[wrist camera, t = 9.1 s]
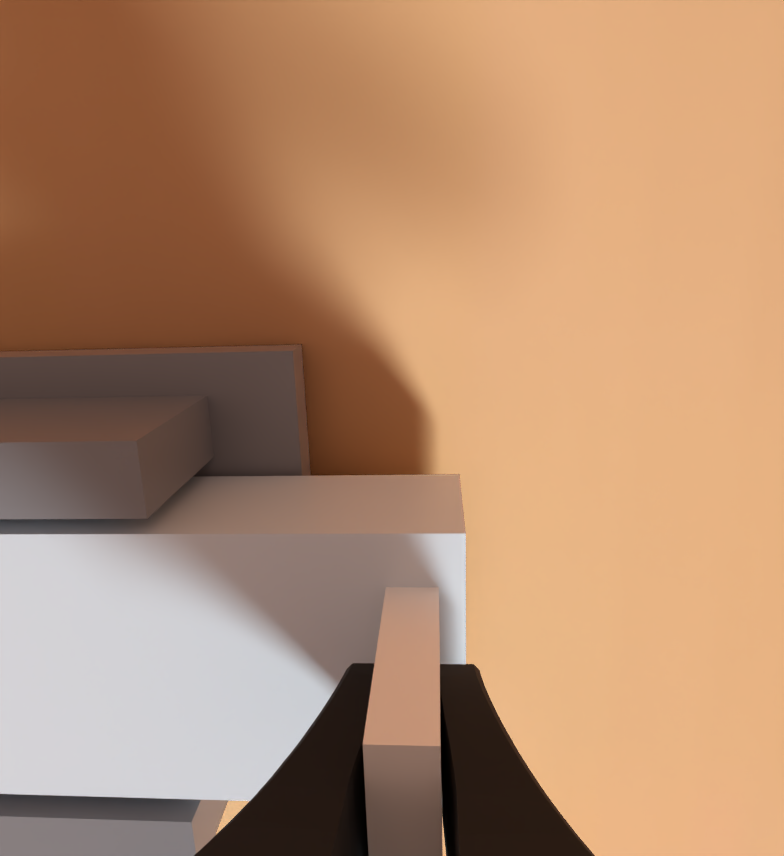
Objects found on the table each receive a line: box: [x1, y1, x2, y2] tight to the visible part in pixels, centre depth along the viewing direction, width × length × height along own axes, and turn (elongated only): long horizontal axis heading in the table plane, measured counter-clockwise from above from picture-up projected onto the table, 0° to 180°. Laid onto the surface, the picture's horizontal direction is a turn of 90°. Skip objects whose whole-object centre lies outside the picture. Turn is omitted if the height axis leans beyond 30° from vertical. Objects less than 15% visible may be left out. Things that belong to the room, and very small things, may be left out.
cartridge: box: [0, 474, 466, 856], centre depth 13 cm, size 6×13×7 cm, turn 92°
